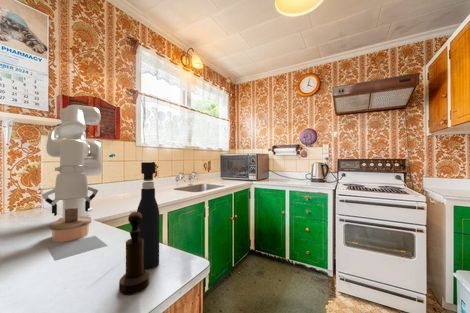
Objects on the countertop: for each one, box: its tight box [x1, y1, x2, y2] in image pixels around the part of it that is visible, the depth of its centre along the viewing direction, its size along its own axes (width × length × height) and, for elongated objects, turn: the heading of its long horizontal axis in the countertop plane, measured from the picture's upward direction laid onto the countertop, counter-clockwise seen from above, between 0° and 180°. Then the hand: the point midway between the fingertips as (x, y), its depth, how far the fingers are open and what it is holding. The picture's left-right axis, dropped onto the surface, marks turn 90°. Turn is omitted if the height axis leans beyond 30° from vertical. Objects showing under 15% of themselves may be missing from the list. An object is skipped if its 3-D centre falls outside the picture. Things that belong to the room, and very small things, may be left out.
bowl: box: [51, 223, 90, 243], centre depth 80 cm, size 11×11×5 cm
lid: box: [48, 208, 92, 231], centre depth 80 cm, size 13×13×6 cm
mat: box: [47, 235, 108, 261], centre depth 70 cm, size 14×14×1 cm
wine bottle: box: [136, 161, 161, 271], centre depth 59 cm, size 6×6×30 cm
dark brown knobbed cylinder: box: [118, 211, 150, 296], centre depth 49 cm, size 7×6×18 cm
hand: (71, 212), depth 81 cm, fingers open, 9 cm apart
